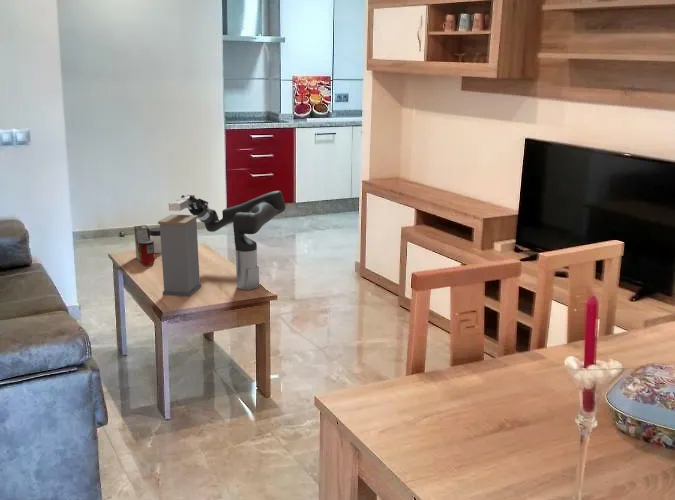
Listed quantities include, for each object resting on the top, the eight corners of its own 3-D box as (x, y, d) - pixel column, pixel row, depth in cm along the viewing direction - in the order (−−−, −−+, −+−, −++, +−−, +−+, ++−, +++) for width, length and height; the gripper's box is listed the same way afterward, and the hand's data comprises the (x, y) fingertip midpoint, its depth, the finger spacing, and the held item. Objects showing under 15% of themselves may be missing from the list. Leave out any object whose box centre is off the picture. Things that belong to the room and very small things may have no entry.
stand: (189, 296, 304) (185, 222, 296) (162, 294, 306) (157, 221, 298) (201, 286, 318) (197, 215, 309) (175, 284, 320) (171, 214, 311)
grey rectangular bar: (180, 210, 300) (179, 203, 299) (169, 210, 301) (168, 203, 300) (196, 201, 318) (196, 195, 317) (186, 201, 319) (185, 194, 318)
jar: (148, 254, 368) (146, 231, 365) (150, 250, 376) (148, 227, 372) (166, 253, 369) (164, 230, 366) (167, 249, 377) (166, 227, 374)
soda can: (158, 263, 352) (156, 239, 348) (147, 267, 346) (145, 242, 343) (147, 261, 355) (145, 237, 352) (137, 265, 349) (135, 240, 346)
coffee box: (152, 260, 357) (149, 228, 353) (139, 261, 355) (136, 230, 350) (148, 255, 365) (146, 224, 361) (135, 257, 363) (133, 226, 358)
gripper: (213, 218, 327) (200, 206, 310) (184, 217, 329) (169, 205, 313) (215, 202, 329) (202, 189, 312) (186, 201, 331) (172, 188, 315)
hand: (186, 197), depth 313 cm, fingers closed on grey rectangular bar, 3 cm apart
